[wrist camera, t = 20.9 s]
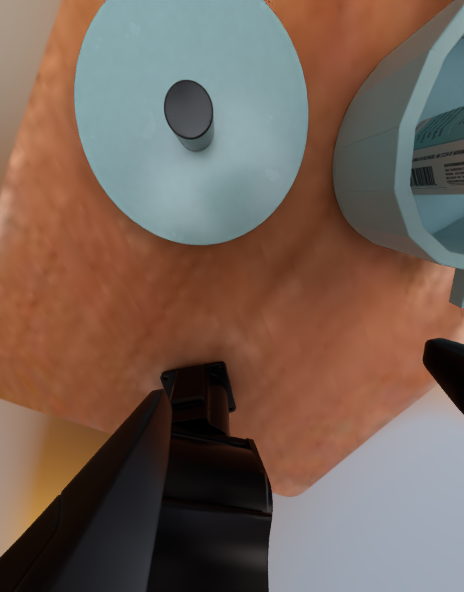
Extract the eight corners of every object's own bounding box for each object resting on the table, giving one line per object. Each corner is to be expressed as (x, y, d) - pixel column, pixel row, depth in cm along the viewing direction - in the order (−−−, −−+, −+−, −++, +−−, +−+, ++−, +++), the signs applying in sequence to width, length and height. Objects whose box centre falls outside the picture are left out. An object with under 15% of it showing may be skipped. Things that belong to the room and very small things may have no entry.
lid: (294, -47, 13) (336, -177, 9) (308, 223, 19) (338, 232, 14) (39, 9, 14) (-54, -88, 9) (129, 258, 19) (101, 279, 15)
